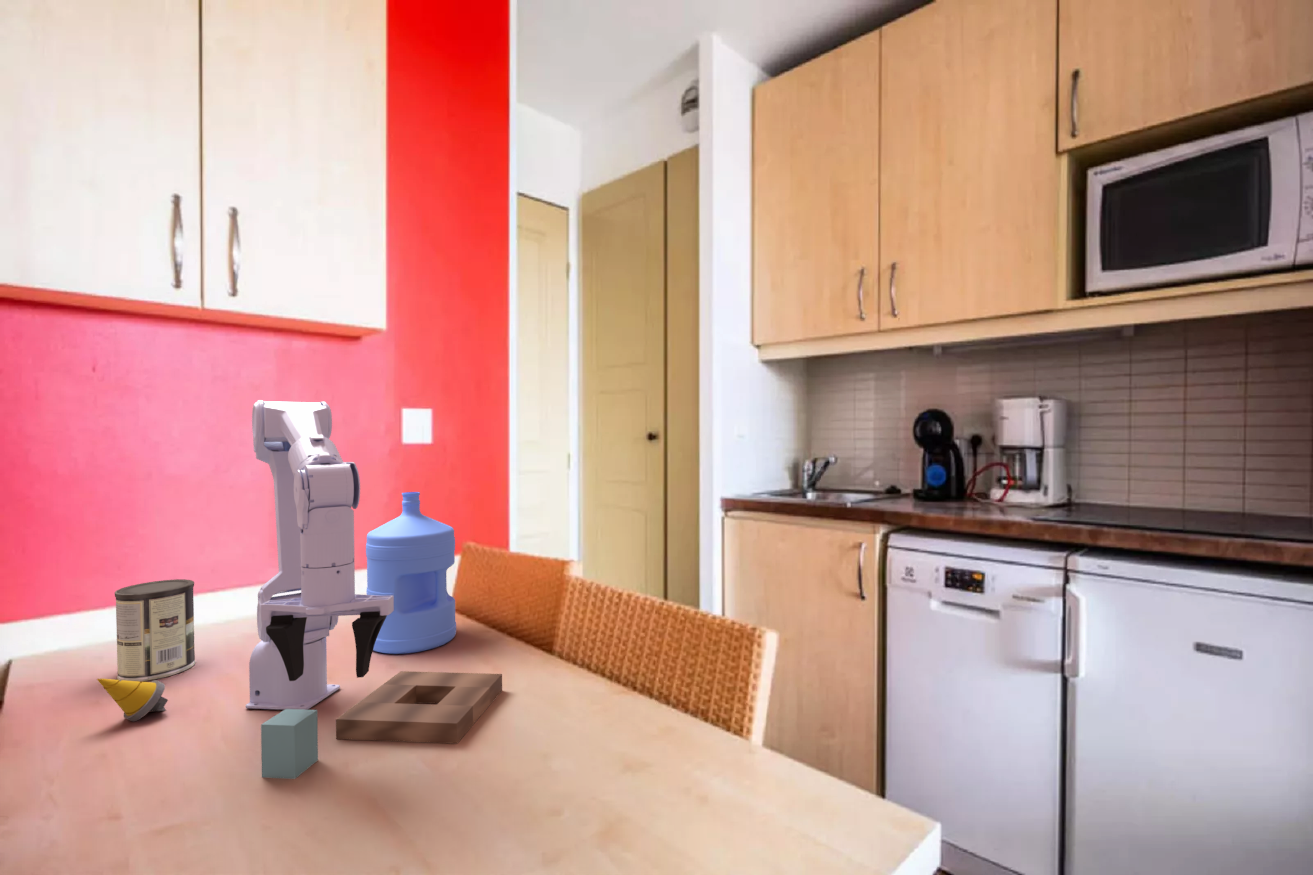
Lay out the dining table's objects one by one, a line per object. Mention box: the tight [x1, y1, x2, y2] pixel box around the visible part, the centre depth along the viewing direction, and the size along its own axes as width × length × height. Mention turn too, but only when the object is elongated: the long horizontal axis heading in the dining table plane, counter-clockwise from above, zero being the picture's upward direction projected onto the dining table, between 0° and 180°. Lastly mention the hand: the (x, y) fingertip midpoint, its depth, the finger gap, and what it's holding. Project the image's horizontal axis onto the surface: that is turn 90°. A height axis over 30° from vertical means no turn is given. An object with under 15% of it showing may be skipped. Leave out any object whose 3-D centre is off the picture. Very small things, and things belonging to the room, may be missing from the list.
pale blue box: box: [260, 709, 319, 780], centre depth 71 cm, size 4×4×6 cm
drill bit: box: [96, 678, 169, 722], centre depth 84 cm, size 5×5×10 cm
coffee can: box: [114, 578, 196, 682], centre depth 102 cm, size 10×10×14 cm
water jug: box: [365, 491, 457, 655], centre depth 116 cm, size 16×16×28 cm
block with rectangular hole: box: [335, 670, 503, 744], centre depth 85 cm, size 16×16×2 cm
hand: (329, 676), depth 74 cm, fingers open, 7 cm apart
